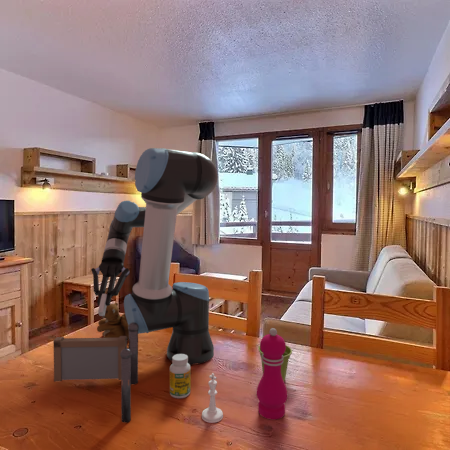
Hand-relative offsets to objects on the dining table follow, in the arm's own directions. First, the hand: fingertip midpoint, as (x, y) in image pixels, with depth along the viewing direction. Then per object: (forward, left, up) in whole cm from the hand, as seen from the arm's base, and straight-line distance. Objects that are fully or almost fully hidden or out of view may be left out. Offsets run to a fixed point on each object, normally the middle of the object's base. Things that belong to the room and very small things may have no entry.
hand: (101, 314), depth 106 cm
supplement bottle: (-26, +22, -14) cm, 37 cm away
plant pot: (-52, +16, -14) cm, 56 cm away
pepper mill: (-48, +31, -14) cm, 59 cm away
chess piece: (-34, +32, -14) cm, 49 cm away
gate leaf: (-2, +16, -13) cm, 20 cm away
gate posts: (-14, +24, -14) cm, 31 cm away
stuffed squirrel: (-2, -14, -14) cm, 20 cm away
